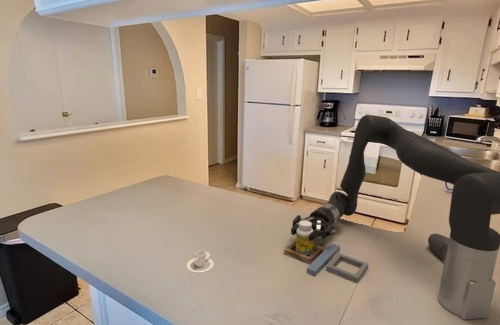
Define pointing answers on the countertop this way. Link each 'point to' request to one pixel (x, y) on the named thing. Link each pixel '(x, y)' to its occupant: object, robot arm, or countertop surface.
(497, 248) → the robot arm
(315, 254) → the holder
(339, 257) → the holder open
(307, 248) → the supplement bottle
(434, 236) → the perforated stone tool
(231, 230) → the countertop surface
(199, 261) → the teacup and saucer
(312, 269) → the door sill
